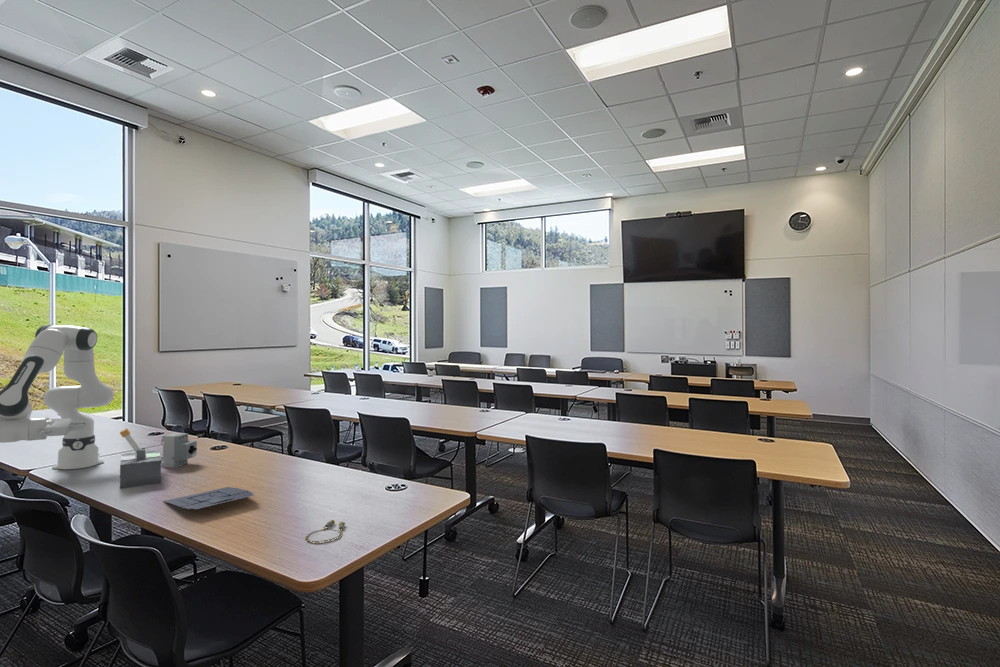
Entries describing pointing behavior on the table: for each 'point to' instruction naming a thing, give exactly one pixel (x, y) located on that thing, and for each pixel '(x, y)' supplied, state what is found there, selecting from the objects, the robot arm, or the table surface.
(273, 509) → the table surface
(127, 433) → the lever
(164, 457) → the circuit breaker
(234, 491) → the dark blue panel
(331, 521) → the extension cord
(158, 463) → the box
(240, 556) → the table surface
